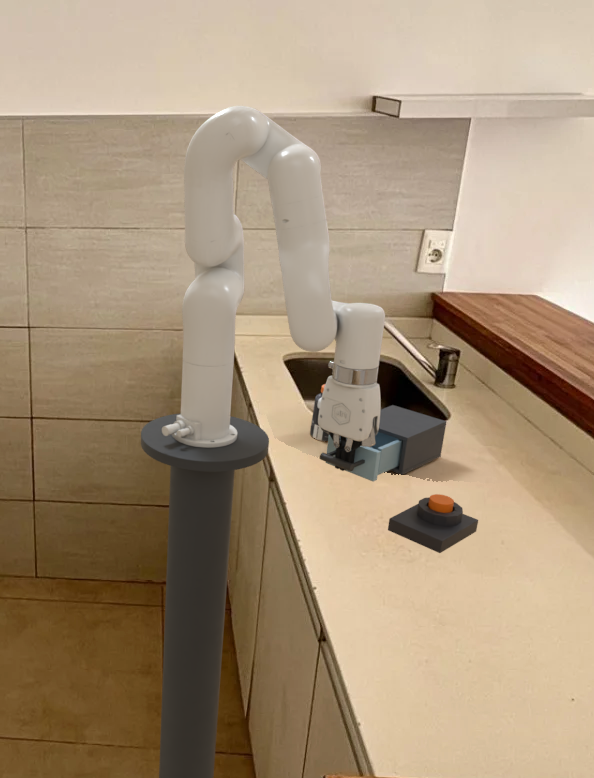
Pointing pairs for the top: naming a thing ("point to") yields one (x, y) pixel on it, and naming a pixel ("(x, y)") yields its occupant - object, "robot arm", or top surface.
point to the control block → (433, 526)
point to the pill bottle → (315, 428)
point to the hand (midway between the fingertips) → (343, 467)
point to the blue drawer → (369, 457)
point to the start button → (441, 503)
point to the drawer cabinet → (413, 436)
